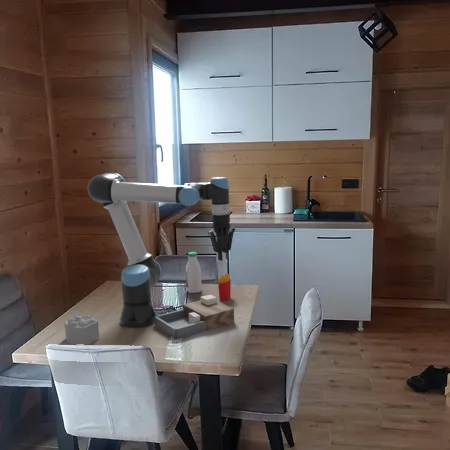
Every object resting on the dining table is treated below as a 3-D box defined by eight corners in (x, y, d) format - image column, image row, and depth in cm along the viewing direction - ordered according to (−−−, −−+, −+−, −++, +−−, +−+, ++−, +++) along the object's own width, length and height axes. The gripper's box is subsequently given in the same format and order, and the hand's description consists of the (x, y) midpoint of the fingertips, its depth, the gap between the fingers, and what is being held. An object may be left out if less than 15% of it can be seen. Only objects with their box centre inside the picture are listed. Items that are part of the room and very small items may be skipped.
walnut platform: (206, 330, 199) (205, 316, 198) (183, 317, 214) (182, 304, 213) (234, 322, 207) (233, 308, 206) (210, 310, 222) (210, 297, 221)
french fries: (226, 295, 242) (225, 272, 239) (232, 297, 239) (232, 273, 237) (216, 301, 234) (215, 276, 232) (223, 302, 232) (222, 277, 230)
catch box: (175, 339, 192) (175, 329, 191) (154, 325, 206) (153, 316, 205) (206, 330, 199) (205, 321, 199) (183, 317, 214) (183, 309, 213)
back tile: (207, 305, 211) (206, 299, 211) (200, 302, 215) (200, 296, 215) (216, 302, 214) (216, 297, 213) (210, 299, 218) (210, 294, 217)
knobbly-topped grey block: (83, 347, 187) (81, 325, 186) (59, 341, 194) (57, 320, 192) (102, 337, 196) (101, 316, 195) (79, 331, 202) (77, 311, 201)
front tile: (200, 327, 200) (195, 328, 199) (194, 323, 205) (189, 324, 203) (200, 315, 199) (194, 316, 198) (194, 312, 204) (188, 313, 202)
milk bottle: (204, 289, 252) (202, 251, 249) (197, 294, 245) (195, 255, 242) (191, 288, 255) (189, 250, 252) (183, 292, 249) (181, 253, 245)
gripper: (212, 216, 205) (215, 271, 209) (238, 212, 212) (240, 266, 216) (203, 214, 211) (205, 268, 215) (228, 210, 218) (230, 262, 223)
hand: (223, 267), depth 216 cm, fingers closed
